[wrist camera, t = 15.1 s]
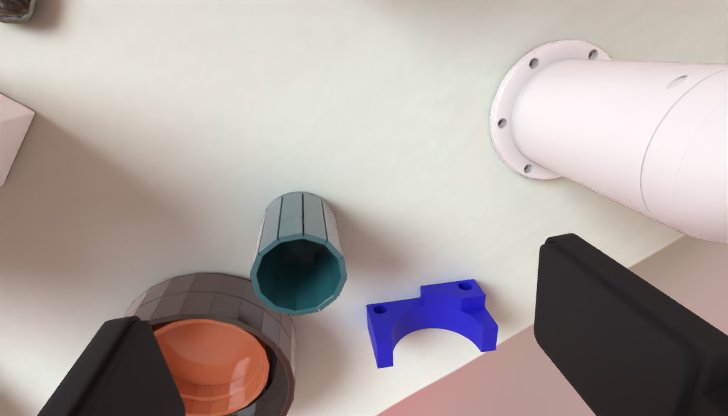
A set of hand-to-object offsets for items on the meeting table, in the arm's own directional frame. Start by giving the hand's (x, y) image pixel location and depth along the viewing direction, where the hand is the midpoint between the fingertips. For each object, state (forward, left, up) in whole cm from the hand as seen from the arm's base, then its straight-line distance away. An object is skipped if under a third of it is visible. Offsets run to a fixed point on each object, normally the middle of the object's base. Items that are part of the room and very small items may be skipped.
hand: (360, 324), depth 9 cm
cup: (+3, +9, -26) cm, 28 cm away
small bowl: (+15, +21, -26) cm, 36 cm away
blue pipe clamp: (-8, +21, -26) cm, 35 cm away
